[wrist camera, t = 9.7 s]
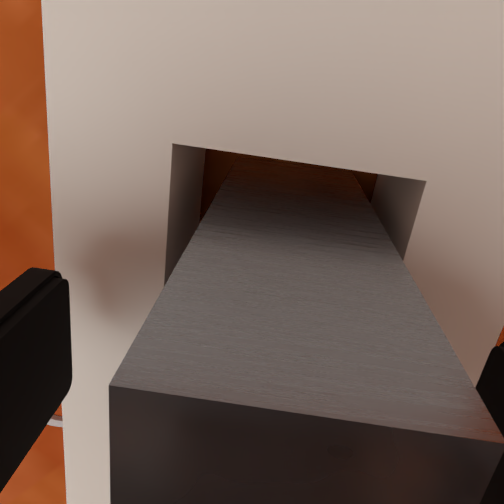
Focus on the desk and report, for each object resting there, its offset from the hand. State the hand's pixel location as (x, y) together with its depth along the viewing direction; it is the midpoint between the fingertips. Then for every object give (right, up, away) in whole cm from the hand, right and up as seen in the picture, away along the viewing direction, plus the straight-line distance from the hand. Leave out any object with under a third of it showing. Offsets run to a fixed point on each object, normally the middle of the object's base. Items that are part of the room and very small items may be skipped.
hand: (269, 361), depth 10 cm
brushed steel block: (+1, +3, +7) cm, 7 cm away
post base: (+1, +3, +7) cm, 7 cm away
